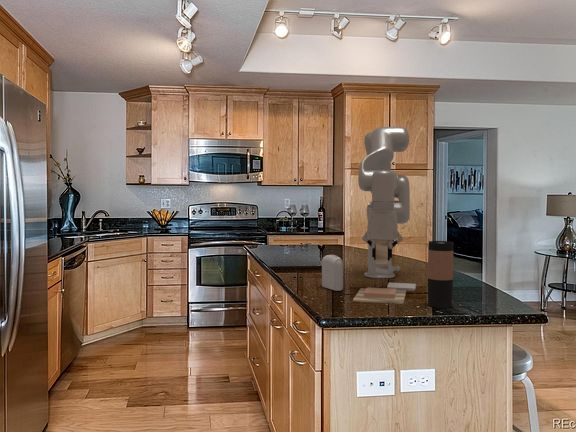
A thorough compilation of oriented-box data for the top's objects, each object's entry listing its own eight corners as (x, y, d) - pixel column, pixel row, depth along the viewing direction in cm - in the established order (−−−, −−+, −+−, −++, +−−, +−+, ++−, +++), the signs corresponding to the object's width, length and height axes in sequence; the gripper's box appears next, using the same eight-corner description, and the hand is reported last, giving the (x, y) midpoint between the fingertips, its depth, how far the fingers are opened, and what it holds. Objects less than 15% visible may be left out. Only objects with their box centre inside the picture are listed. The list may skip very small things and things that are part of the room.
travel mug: (423, 303, 171) (424, 240, 170) (446, 302, 172) (448, 240, 171) (432, 308, 163) (433, 243, 162) (456, 308, 164) (457, 243, 163)
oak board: (360, 290, 193) (360, 288, 193) (406, 292, 189) (406, 290, 189) (352, 301, 174) (352, 299, 174) (403, 304, 170) (403, 302, 169)
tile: (367, 287, 186) (363, 292, 177) (396, 288, 184) (394, 294, 174) (367, 291, 186) (363, 297, 177) (396, 293, 184) (394, 299, 174)
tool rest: (388, 284, 204) (388, 282, 204) (415, 285, 202) (415, 283, 202) (386, 289, 194) (386, 287, 194) (415, 290, 192) (415, 288, 192)
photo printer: (320, 286, 199) (320, 253, 199) (330, 285, 201) (330, 253, 200) (334, 291, 190) (334, 256, 189) (344, 290, 192) (345, 256, 191)
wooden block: (376, 270, 188) (377, 224, 187) (388, 270, 187) (388, 225, 186) (375, 272, 184) (376, 225, 183) (387, 272, 183) (388, 226, 182)
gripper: (357, 207, 182) (356, 260, 184) (407, 207, 178) (406, 262, 179) (359, 205, 189) (359, 257, 191) (408, 206, 185) (407, 259, 187)
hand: (382, 259), depth 185 cm, fingers closed on wooden block, 4 cm apart
